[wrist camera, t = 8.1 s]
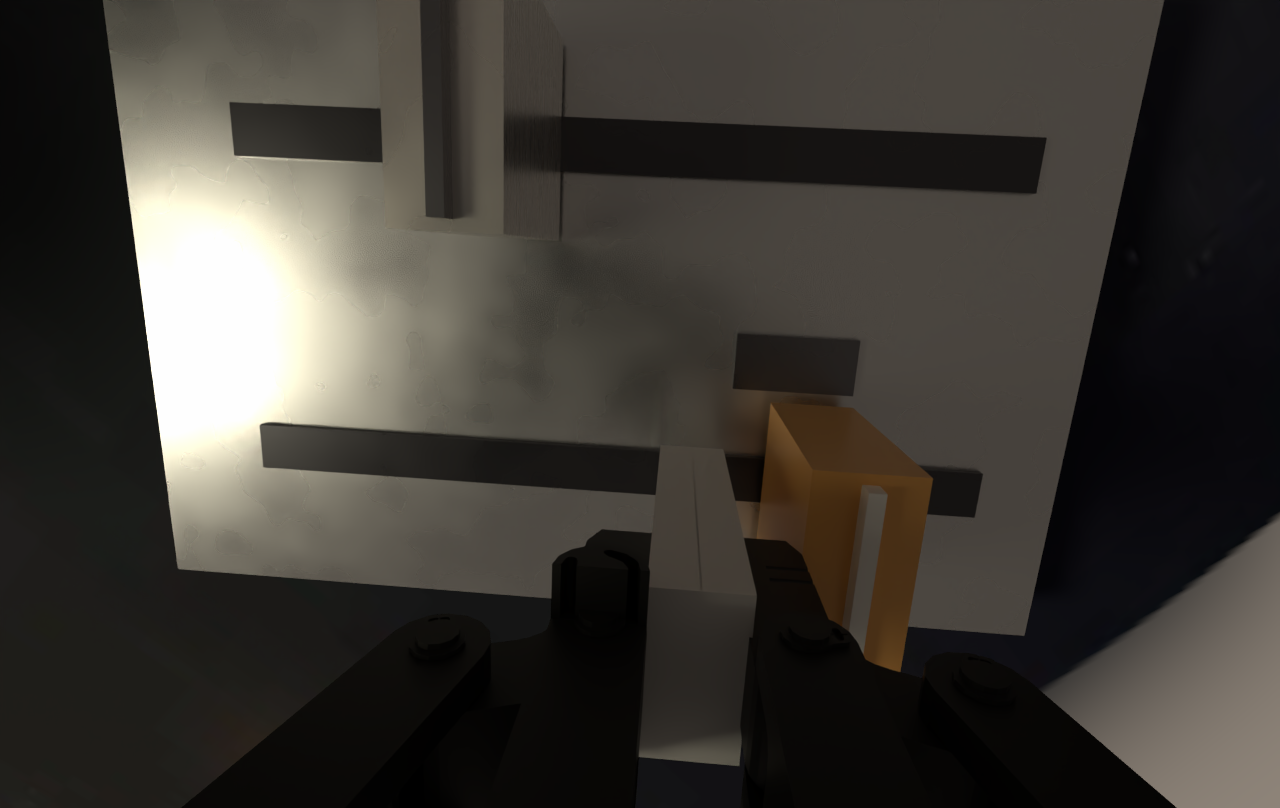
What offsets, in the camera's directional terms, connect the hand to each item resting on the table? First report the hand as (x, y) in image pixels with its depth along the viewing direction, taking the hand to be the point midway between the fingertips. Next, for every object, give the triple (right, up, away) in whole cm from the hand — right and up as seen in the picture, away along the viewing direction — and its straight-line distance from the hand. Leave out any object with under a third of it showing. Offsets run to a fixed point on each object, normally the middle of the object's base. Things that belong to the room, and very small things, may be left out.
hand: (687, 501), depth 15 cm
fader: (+3, 0, +1) cm, 3 cm away
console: (-2, +5, +3) cm, 6 cm away
